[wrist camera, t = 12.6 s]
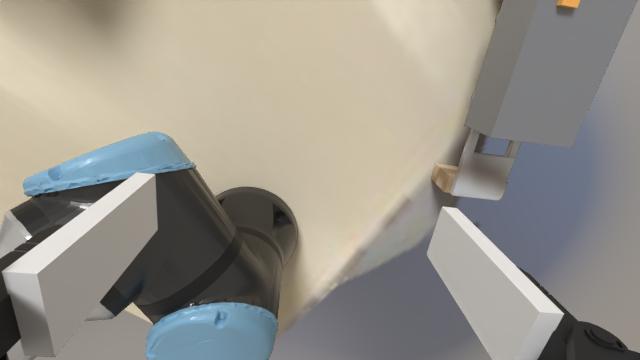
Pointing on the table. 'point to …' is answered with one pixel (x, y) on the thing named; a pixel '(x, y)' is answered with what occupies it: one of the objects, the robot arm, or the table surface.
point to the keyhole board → (477, 171)
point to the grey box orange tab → (545, 68)
